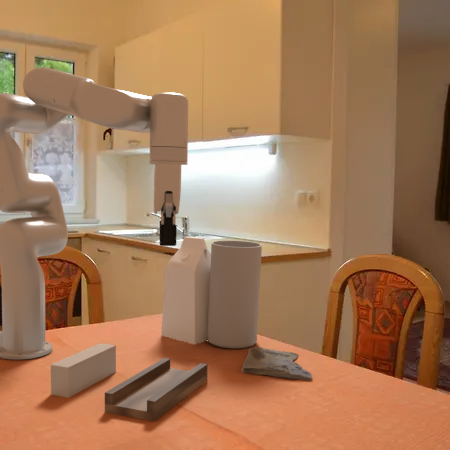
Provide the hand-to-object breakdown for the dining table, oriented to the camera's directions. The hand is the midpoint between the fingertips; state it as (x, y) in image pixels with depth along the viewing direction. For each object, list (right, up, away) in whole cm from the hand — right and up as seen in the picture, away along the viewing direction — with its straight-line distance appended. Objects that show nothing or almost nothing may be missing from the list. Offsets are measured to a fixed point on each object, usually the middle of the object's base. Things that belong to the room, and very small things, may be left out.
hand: (167, 242), depth 117 cm
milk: (+3, -26, +36) cm, 45 cm away
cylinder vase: (+13, -26, +30) cm, 42 cm away
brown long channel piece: (-1, -29, -6) cm, 30 cm away
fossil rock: (+23, -29, +13) cm, 39 cm away
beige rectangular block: (-17, -28, 0) cm, 33 cm away
